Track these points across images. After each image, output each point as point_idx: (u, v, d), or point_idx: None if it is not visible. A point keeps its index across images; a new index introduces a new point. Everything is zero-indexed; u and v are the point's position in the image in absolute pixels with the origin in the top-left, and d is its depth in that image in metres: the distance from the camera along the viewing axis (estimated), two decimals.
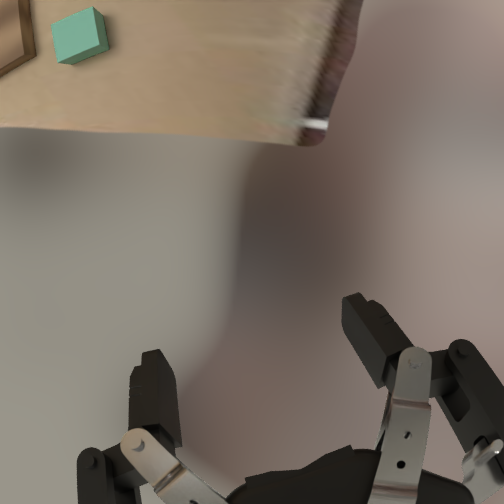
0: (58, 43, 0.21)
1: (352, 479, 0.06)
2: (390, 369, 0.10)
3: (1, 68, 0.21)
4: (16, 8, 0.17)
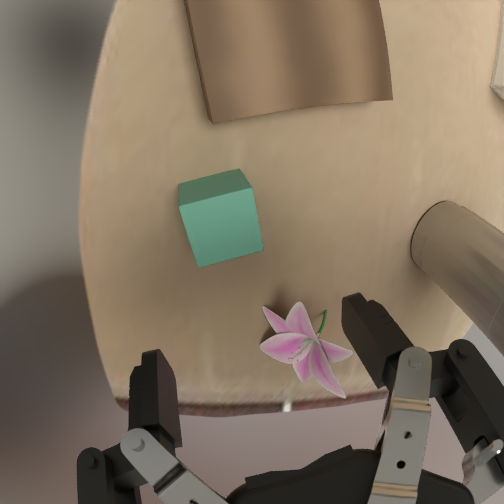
0: (212, 205, 0.20)
1: (352, 479, 0.06)
2: (390, 369, 0.10)
3: (202, 71, 0.17)
4: (313, 102, 0.19)
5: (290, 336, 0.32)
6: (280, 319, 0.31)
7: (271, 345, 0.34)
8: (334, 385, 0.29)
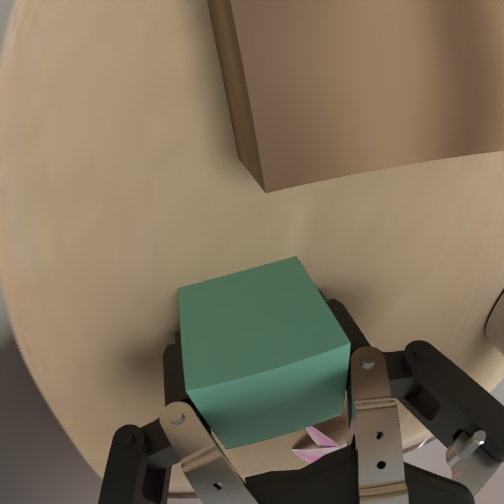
0: (262, 382, 0.09)
1: (352, 479, 0.06)
2: None
3: (237, 38, 0.05)
4: (468, 146, 0.08)
5: None
6: (327, 437, 0.19)
7: (308, 454, 0.22)
8: None
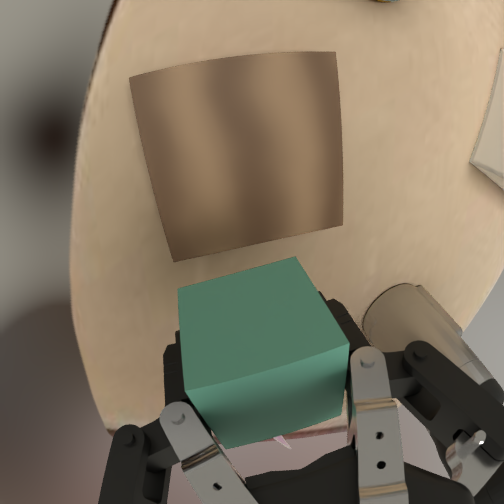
0: (261, 382, 0.09)
1: (352, 479, 0.06)
2: None
3: None
4: (262, 239, 0.24)
5: None
6: None
7: None
8: (281, 439, 0.33)
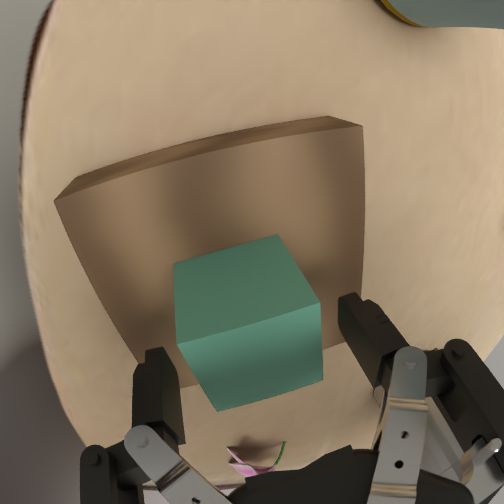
0: (243, 337, 0.10)
1: (352, 479, 0.06)
2: (385, 369, 0.10)
3: None
4: None
5: None
6: (240, 459, 0.31)
7: (236, 467, 0.34)
8: None
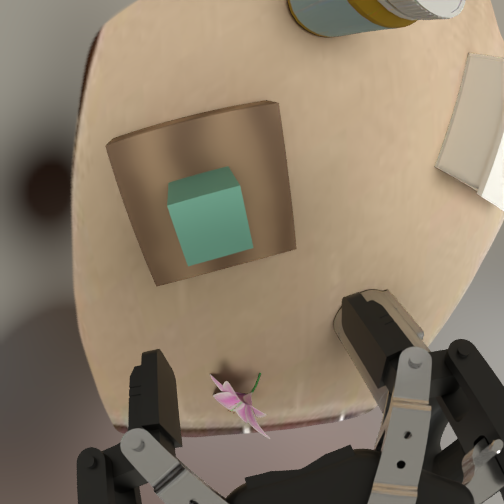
0: (201, 203, 0.20)
1: (352, 479, 0.06)
2: (390, 369, 0.10)
3: None
4: (226, 265, 0.29)
5: (230, 394, 0.42)
6: (221, 384, 0.41)
7: (219, 397, 0.44)
8: (261, 430, 0.39)
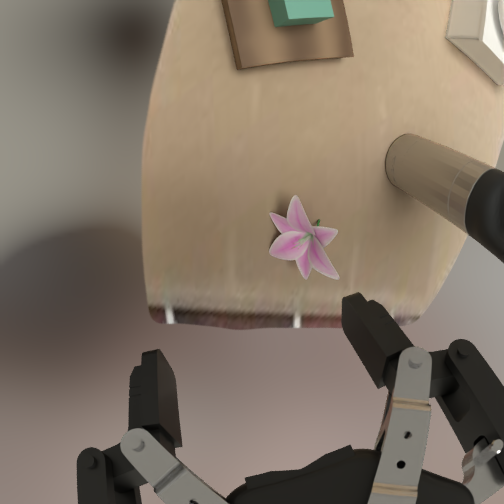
0: None
1: (352, 479, 0.06)
2: (390, 369, 0.10)
3: (235, 38, 0.27)
4: (301, 57, 0.30)
5: (291, 235, 0.42)
6: (283, 219, 0.42)
7: (277, 246, 0.44)
8: (328, 268, 0.39)
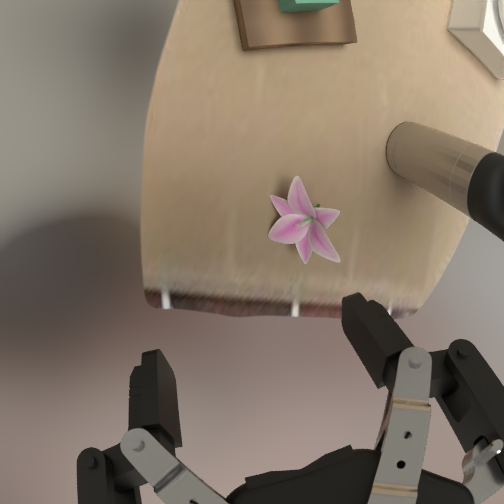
0: None
1: (352, 479, 0.06)
2: (390, 369, 0.10)
3: (243, 19, 0.27)
4: (307, 40, 0.29)
5: (292, 217, 0.42)
6: (283, 201, 0.41)
7: (277, 230, 0.44)
8: (329, 250, 0.39)
